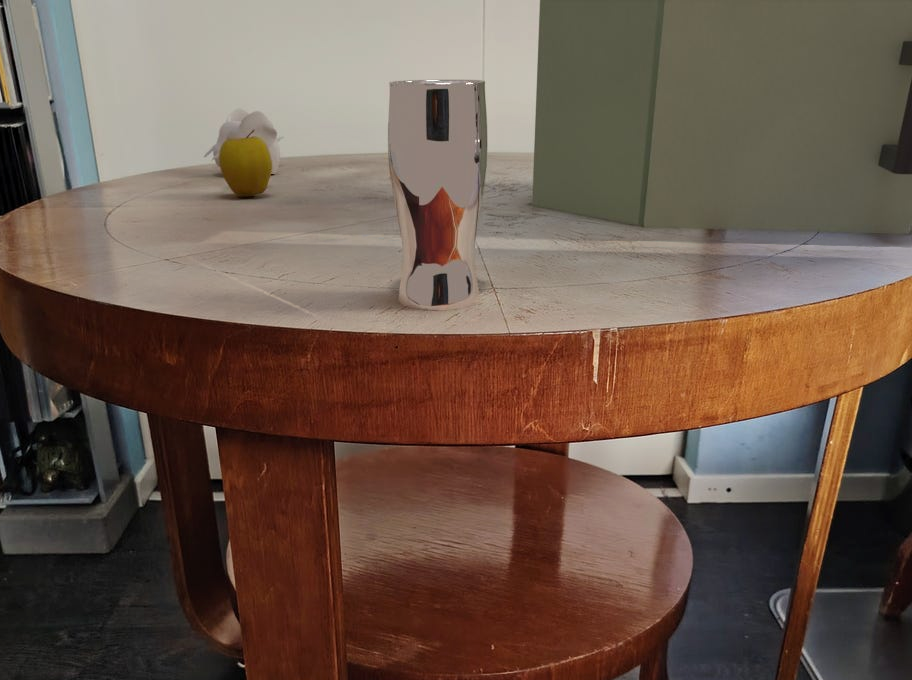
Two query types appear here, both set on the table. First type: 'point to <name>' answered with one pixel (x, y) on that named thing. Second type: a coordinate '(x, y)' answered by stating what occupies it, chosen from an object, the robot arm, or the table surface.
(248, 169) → the apple
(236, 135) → the elephant figurine
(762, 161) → the door
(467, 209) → the beer glass
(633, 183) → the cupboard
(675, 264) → the table surface
